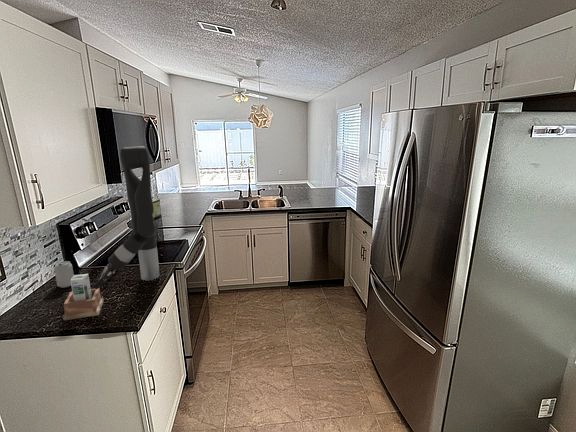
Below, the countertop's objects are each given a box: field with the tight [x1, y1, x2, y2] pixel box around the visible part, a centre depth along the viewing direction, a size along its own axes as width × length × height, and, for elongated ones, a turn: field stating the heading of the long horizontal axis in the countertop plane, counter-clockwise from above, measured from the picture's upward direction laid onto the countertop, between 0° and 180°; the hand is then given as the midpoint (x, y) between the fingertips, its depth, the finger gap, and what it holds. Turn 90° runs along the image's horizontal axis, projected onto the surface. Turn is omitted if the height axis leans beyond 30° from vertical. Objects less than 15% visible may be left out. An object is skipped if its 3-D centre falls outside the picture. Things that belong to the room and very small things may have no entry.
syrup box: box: [70, 273, 92, 301], centre depth 145 cm, size 6×6×14 cm
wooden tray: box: [62, 287, 104, 321], centre depth 146 cm, size 13×13×7 cm
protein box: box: [152, 198, 162, 220], centre depth 293 cm, size 10×16×16 cm
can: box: [53, 260, 75, 288], centre depth 169 cm, size 8×8×12 cm
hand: (96, 283), depth 146 cm, fingers open, 8 cm apart
